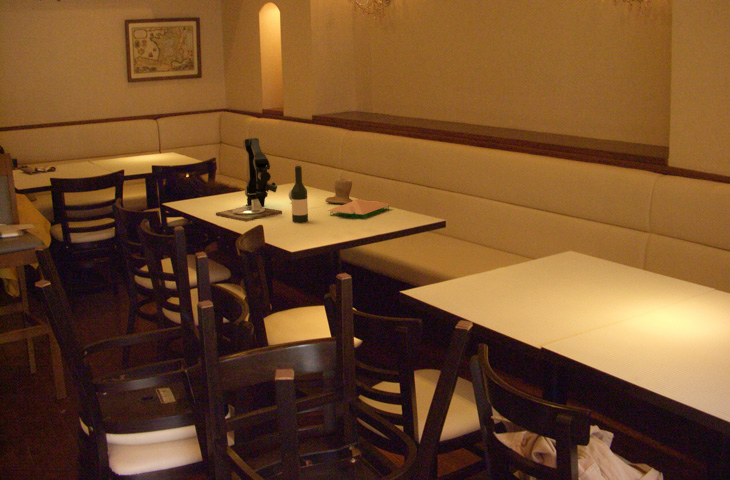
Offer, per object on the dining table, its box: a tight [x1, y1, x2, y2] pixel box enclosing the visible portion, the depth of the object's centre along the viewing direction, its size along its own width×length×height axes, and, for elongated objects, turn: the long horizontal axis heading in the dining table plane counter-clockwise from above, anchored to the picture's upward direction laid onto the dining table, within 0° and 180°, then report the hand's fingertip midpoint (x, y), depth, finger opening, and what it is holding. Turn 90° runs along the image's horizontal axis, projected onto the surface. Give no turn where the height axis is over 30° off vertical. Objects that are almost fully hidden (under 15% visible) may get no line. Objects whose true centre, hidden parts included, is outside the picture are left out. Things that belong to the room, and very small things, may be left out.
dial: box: [232, 199, 266, 215], centre depth 413 cm, size 22×18×6 cm
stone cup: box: [324, 177, 353, 205], centre depth 440 cm, size 15×12×15 cm
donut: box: [288, 187, 293, 202], centre depth 444 cm, size 10×4×10 cm, turn 121°
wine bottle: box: [291, 164, 309, 224], centre depth 391 cm, size 8×8×30 cm
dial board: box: [215, 205, 283, 222], centre depth 414 cm, size 26×26×2 cm
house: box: [327, 198, 392, 220], centre depth 413 cm, size 23×33×8 cm
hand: (262, 206), depth 414 cm, fingers closed
